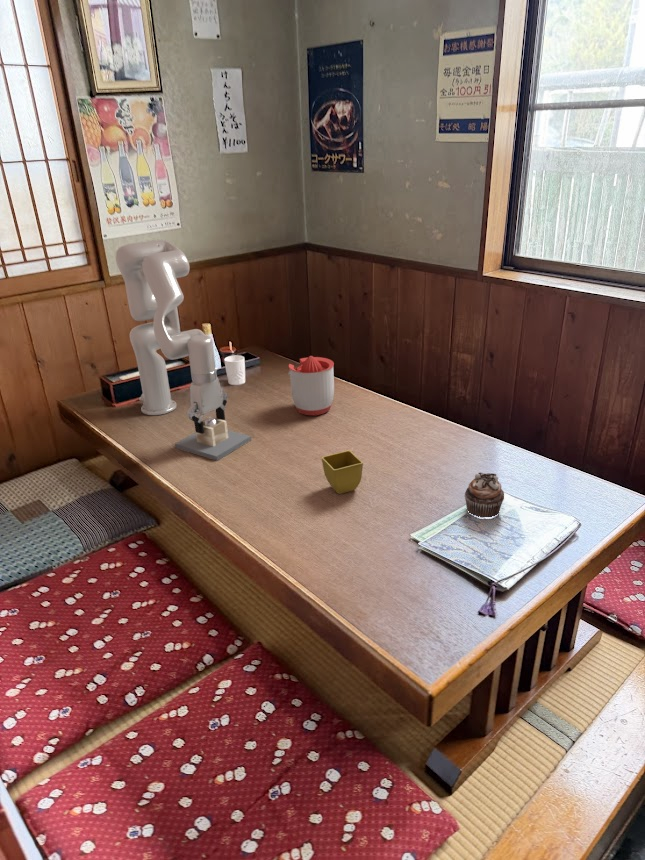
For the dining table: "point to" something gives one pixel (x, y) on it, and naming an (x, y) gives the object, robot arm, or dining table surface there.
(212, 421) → the grey cylinder
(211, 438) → the birch collar
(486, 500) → the cupcake
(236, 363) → the white cup
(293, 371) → the citrus juicer
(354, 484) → the flower pot
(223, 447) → the grey board
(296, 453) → the dining table surface
